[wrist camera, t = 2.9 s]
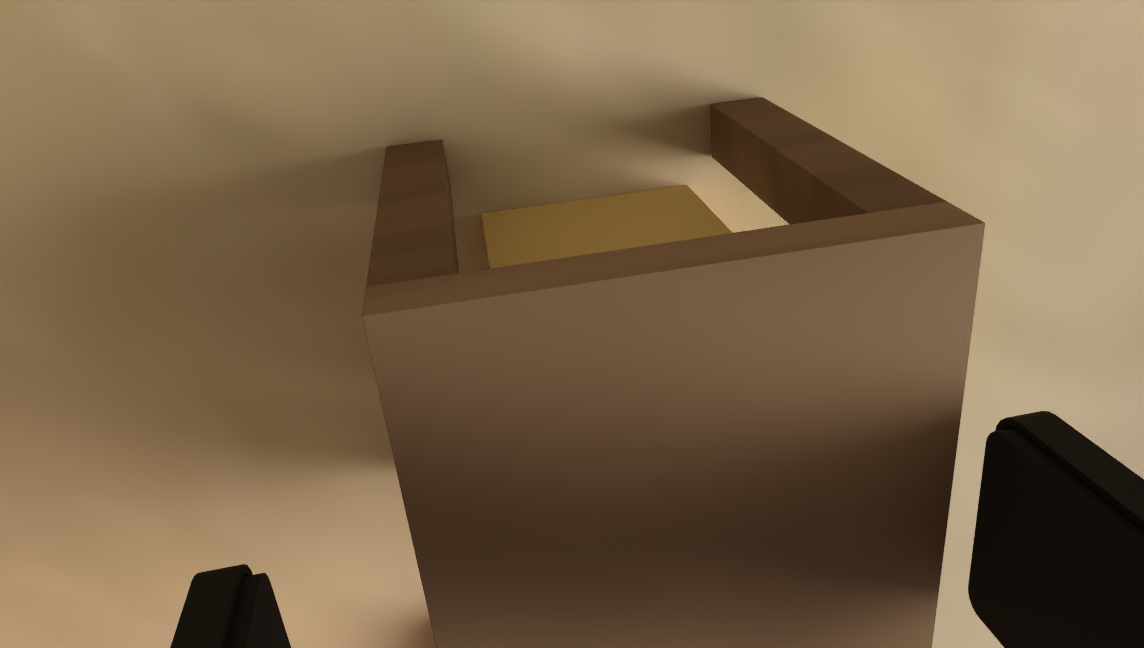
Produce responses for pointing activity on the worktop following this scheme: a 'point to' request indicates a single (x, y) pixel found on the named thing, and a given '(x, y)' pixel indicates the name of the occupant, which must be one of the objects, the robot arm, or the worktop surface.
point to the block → (597, 225)
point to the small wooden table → (682, 410)
